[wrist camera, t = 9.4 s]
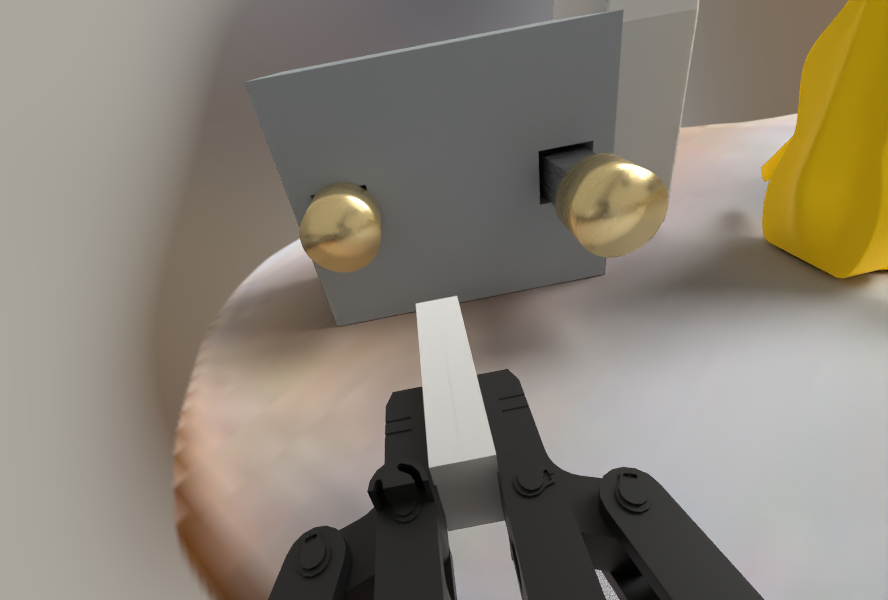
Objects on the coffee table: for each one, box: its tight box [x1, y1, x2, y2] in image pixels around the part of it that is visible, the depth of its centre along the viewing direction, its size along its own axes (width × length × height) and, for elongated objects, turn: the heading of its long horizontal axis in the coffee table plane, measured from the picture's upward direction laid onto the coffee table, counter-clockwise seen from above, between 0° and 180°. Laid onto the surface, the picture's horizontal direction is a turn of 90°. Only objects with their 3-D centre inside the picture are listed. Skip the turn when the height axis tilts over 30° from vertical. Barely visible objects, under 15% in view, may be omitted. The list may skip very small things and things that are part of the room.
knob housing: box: [244, 9, 624, 327], centre depth 29 cm, size 20×9×16 cm, turn 96°
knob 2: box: [538, 144, 668, 257], centre depth 23 cm, size 4×9×4 cm, turn 6°
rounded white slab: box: [553, 0, 699, 223], centre depth 40 cm, size 29×8×18 cm, turn 174°
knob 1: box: [300, 182, 382, 272], centre depth 26 cm, size 4×9×4 cm, turn 6°
